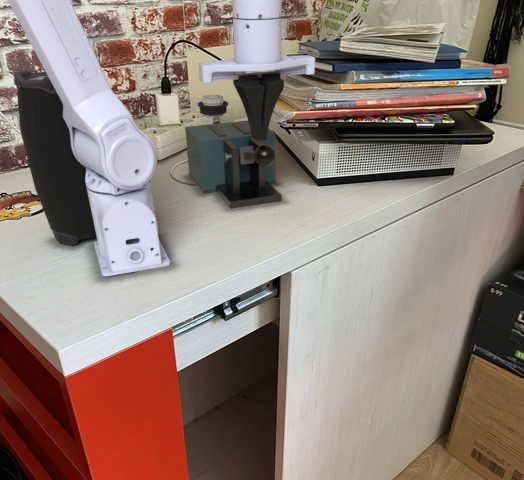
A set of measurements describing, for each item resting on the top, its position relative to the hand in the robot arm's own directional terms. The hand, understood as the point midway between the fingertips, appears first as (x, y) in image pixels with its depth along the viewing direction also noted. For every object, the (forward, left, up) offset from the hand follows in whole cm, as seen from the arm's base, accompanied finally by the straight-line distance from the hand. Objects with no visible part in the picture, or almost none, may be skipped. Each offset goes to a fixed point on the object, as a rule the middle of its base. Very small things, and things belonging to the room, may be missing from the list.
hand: (258, 138), depth 71 cm
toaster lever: (+3, -1, -5) cm, 6 cm away
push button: (+30, -3, -11) cm, 32 cm away
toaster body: (+15, -1, -10) cm, 18 cm away
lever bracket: (+8, -1, -10) cm, 13 cm away
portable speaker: (+2, +24, -11) cm, 27 cm away
